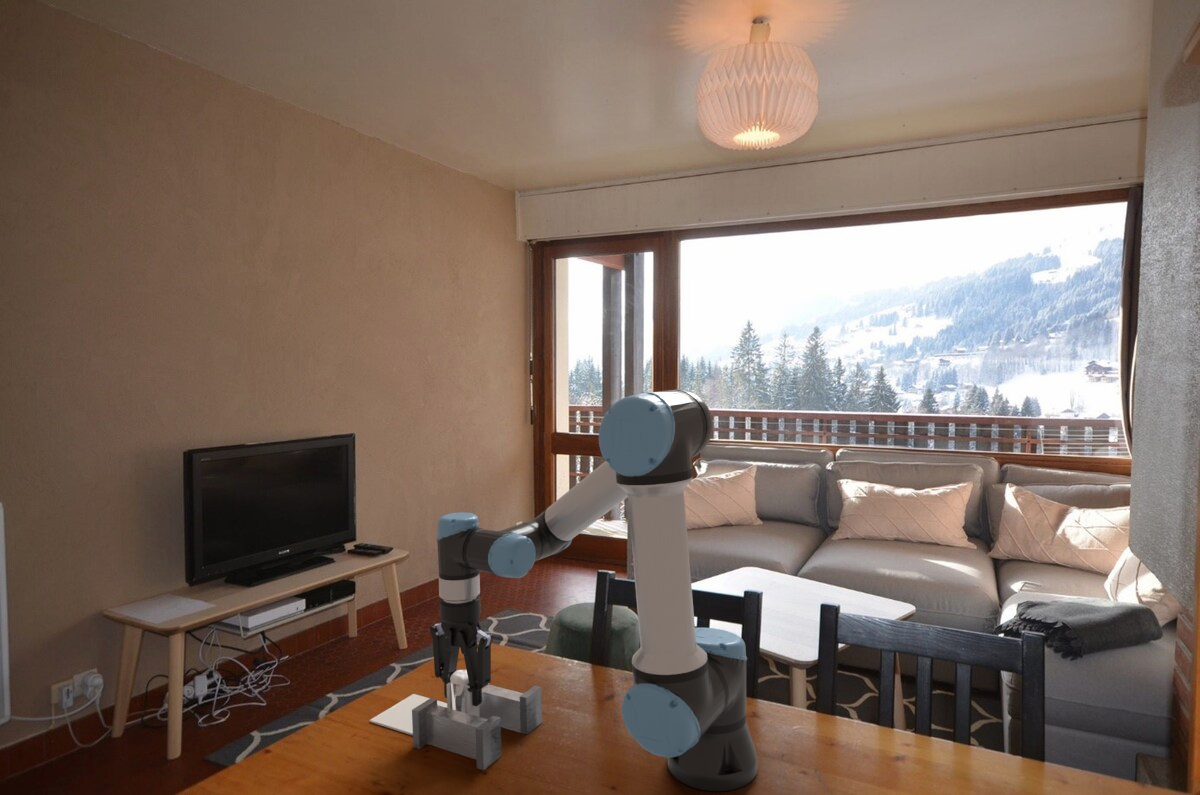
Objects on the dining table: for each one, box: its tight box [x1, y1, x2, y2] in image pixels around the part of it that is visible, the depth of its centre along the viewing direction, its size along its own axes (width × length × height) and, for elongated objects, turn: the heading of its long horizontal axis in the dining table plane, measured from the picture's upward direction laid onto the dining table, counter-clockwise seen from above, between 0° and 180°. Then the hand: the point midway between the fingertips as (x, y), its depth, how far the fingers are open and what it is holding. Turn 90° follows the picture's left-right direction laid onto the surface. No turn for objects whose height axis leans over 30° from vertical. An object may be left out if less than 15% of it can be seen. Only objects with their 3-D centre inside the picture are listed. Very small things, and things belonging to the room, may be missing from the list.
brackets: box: [412, 684, 543, 771], centre depth 137 cm, size 16×18×7 cm
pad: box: [369, 693, 447, 736], centre depth 145 cm, size 12×12×1 cm
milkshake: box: [450, 669, 470, 713], centre depth 138 cm, size 5×5×10 cm
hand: (463, 717), depth 139 cm, fingers closed on milkshake, 4 cm apart
